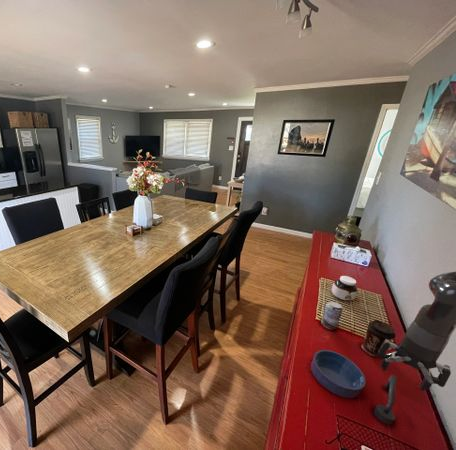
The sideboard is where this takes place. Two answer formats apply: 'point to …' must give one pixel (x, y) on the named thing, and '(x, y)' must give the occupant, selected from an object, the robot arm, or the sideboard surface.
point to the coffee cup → (377, 336)
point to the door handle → (384, 411)
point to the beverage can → (331, 315)
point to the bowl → (337, 374)
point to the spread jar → (344, 288)
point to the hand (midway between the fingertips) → (402, 378)
